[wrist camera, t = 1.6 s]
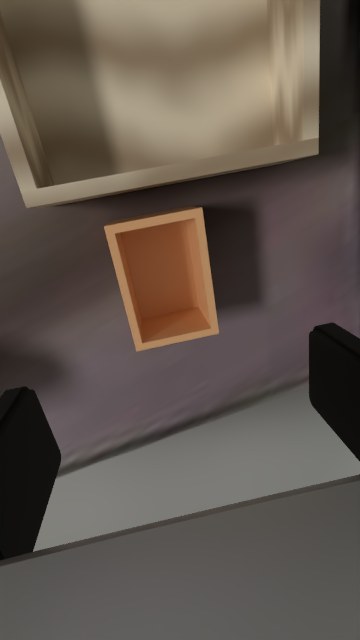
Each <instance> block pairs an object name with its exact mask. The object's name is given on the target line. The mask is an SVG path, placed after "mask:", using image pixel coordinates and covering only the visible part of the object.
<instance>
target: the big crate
mask: <svg viewBox="0 0 360 640" xmlns="http://www.w3.org/2000/svg"><path fill="white" fill-rule="evenodd" d="M319 54H320V0H0V134H1V137H2V140H3V142H4V145H5V148H6V151H7V154H8V157H9V160H10V162H11V165H12V168H13V171H14V174H15V177H16V179H17V182H18V185H19V188H20V191H21V194H22V196H23V199H24V202H25V205H26V208H36V207H50V206H56V205H61V204H67V203H72V202H77V201H83V200H88V199H94V198H99V197H104V196H110V195H115V194H121V193H126V192H131V191H137V190H142V189H147V188H153V187H158V186H164V185H169V184H174V183H180V182H185V181H191V180H196V179H201V178H207V177H212V176H218V175H223V174H228V173H234V172H239V171H245V170H250V169H255V168H261V167H266V166H271V165H277V164H282V163H286V162H290V161H293V160H297V159H301V158H305V157H309V156H313V155H317V154H319Z"/></svg>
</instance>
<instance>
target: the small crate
mask: <svg viewBox="0 0 360 640" xmlns="http://www.w3.org/2000/svg"><path fill="white" fill-rule="evenodd" d="M104 229H105V233H106V236H107V240H108V244H109V248H110V252H111V255H112V259H113V263H114V267H115V271H116V275H117V278H118V282H119V286H120V290H121V294H122V297H123V301H124V305H125V309H126V313H127V316H128V320H129V324H130V328H131V332H132V336H133V339H134V343H135V347H136V351H141V350H145V349H150V348H154V347H159V346H164V345H168V344H173V343H177V342H182V341H186V340H191V339H196V338H200V337H205V336H209V335H214V334H218V333H219V329H218V321H217V314H216V306H215V299H214V292H213V284H212V277H211V269H210V262H209V254H208V247H207V239H206V232H205V225H204V217H203V210H202V207H193V206H186V207H181V208H176V209H171V210H165V211H160V212H155V213H150V214H145V215H139V216H134V217H129V218H124V219H118V220H113V221H110V222H109V223H107V224H106V225H105V226H104Z"/></svg>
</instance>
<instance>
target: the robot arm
mask: <svg viewBox="0 0 360 640" xmlns="http://www.w3.org/2000/svg"><path fill="white" fill-rule="evenodd" d="M309 398H310V401H311V404H312V406H313V407H314V408H315V409H316V411H317V412H318V413H319V414H320V415H321V417H322V418H323V419H324V420H325V421H326V422H327V424H328V425H329V426H330V427H331V428H332V429H333V431H334V432H335V433H336V434H337V435H338V436H339V438H340V439H341V440H342V441H343V442H344V443H345V445H346V446H347V447H348V448H349V449H350V450H351V452H352V453H353V454H354V455H355V456H356V458H357V459H358V460H359V461H360V339H359V338H358V337H356V336H355V335H353V334H351V333H350V332H348V331H346V330H345V329H343V328H341V327H340V326H338V325H337V324H335V323H328V324H323V325H318V326H315V327H314V329H313V331H311V332H310V334H309ZM60 462H61V453H60V450H59V447H58V445H57V443H56V440H55V438H54V436H53V433H52V431H51V428H50V426H49V424H48V421H47V419H46V417H45V414H44V412H43V409H42V407H41V405H40V402H39V400H38V398H37V395H36V393H35V391H34V390H29V389H28V388H27V387H20V388H15V389H10V390H6V391H5V392H4V393H3V395H2V396H1V397H0V640H360V475H356V476H351V477H347V478H342V479H338V480H334V481H329V482H325V483H321V484H316V485H312V486H307V487H303V488H299V489H294V490H290V491H286V492H281V493H277V494H273V495H268V496H264V497H260V498H256V499H252V500H248V501H243V502H239V503H234V504H230V505H226V506H222V507H217V508H213V509H209V510H205V511H201V512H197V513H192V514H188V515H184V516H180V517H175V518H171V519H168V520H163V521H158V522H155V523H150V524H146V525H142V526H138V527H133V528H130V529H125V530H121V531H117V532H113V533H109V534H105V535H100V536H96V537H92V538H89V539H84V540H80V541H76V542H72V543H68V544H63V545H59V546H55V547H51V548H47V549H43V550H39V551H35V552H33V549H34V546H35V543H36V540H37V536H38V533H39V530H40V527H41V523H42V520H43V517H44V514H45V511H46V508H47V504H48V501H49V498H50V495H51V492H52V488H53V485H54V482H55V479H56V476H57V472H58V469H59V466H60Z"/></svg>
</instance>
